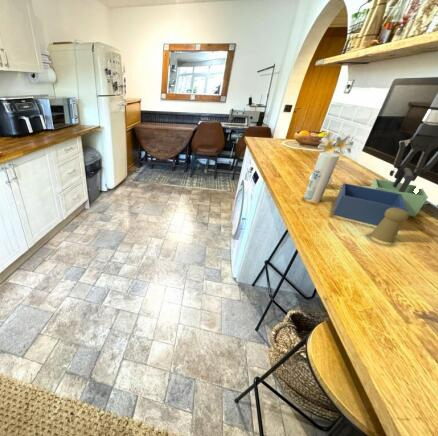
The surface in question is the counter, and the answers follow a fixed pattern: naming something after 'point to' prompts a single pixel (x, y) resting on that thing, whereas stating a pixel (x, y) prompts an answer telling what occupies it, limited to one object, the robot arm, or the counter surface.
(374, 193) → the slate bin
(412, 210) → the sage bin
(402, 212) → the olive pepper mill
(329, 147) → the flower vase
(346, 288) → the counter surface
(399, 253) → the counter surface
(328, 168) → the spray can
